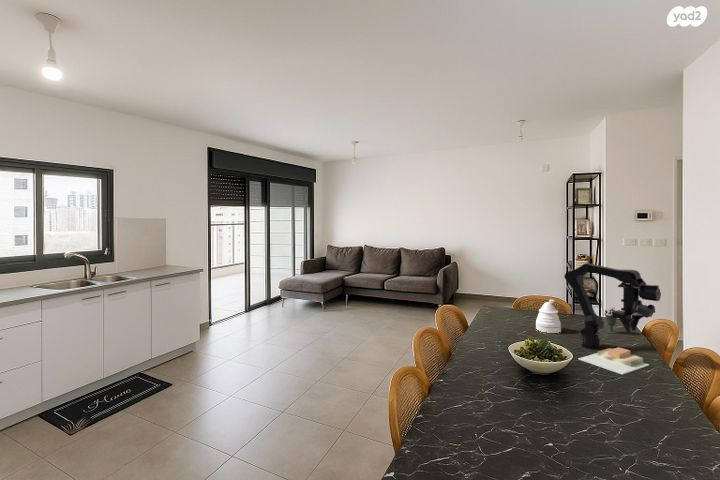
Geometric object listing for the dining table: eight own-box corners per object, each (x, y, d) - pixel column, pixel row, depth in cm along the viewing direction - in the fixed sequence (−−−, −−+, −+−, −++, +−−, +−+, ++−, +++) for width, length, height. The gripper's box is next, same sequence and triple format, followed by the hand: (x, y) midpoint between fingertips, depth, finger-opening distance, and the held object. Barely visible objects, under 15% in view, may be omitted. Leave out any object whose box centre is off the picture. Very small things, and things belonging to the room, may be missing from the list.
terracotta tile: (607, 354, 164) (607, 350, 164) (618, 351, 167) (618, 347, 167) (619, 358, 159) (619, 354, 159) (630, 355, 162) (630, 350, 162)
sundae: (621, 334, 197) (621, 307, 196) (607, 334, 198) (607, 307, 197) (615, 330, 203) (615, 304, 202) (601, 330, 205) (601, 304, 204)
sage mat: (578, 359, 166) (578, 358, 166) (604, 351, 174) (604, 350, 174) (622, 374, 149) (622, 373, 149) (649, 365, 157) (649, 364, 157)
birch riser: (597, 356, 168) (597, 351, 168) (609, 353, 172) (609, 348, 172) (630, 367, 155) (630, 361, 155) (642, 363, 159) (642, 357, 159)
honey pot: (561, 328, 211) (561, 298, 210) (560, 335, 200) (559, 303, 199) (537, 326, 218) (536, 296, 217) (534, 332, 207) (534, 301, 206)
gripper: (638, 303, 154) (638, 339, 155) (663, 298, 162) (663, 332, 163) (611, 299, 164) (611, 332, 165) (635, 294, 172) (635, 326, 173)
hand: (631, 331), depth 166 cm, fingers open, 4 cm apart
